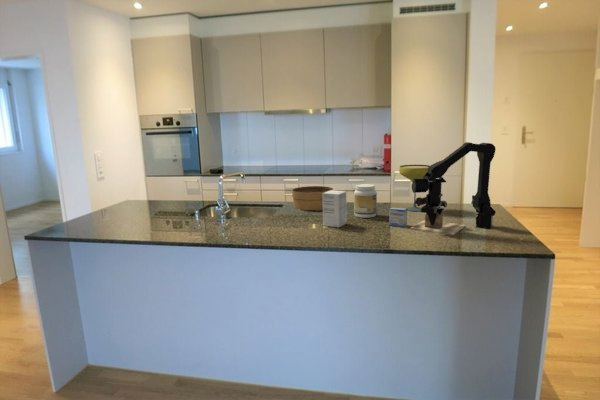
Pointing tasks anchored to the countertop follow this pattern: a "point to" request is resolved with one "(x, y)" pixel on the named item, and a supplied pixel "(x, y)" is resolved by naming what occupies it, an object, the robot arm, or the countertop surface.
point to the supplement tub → (365, 201)
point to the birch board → (446, 228)
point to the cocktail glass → (412, 173)
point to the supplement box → (334, 208)
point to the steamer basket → (309, 197)
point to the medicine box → (398, 217)
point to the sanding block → (437, 223)
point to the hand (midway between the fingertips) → (433, 224)
